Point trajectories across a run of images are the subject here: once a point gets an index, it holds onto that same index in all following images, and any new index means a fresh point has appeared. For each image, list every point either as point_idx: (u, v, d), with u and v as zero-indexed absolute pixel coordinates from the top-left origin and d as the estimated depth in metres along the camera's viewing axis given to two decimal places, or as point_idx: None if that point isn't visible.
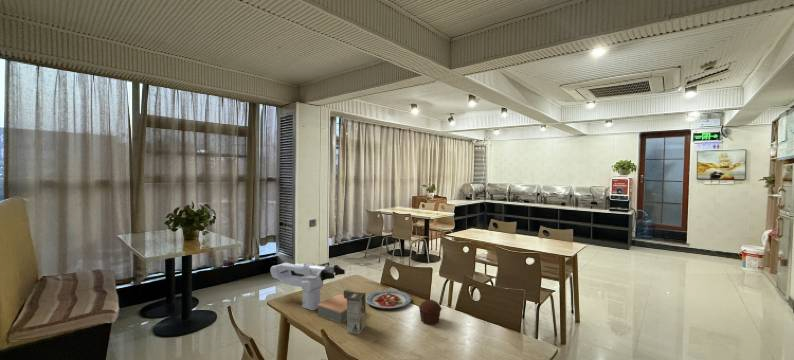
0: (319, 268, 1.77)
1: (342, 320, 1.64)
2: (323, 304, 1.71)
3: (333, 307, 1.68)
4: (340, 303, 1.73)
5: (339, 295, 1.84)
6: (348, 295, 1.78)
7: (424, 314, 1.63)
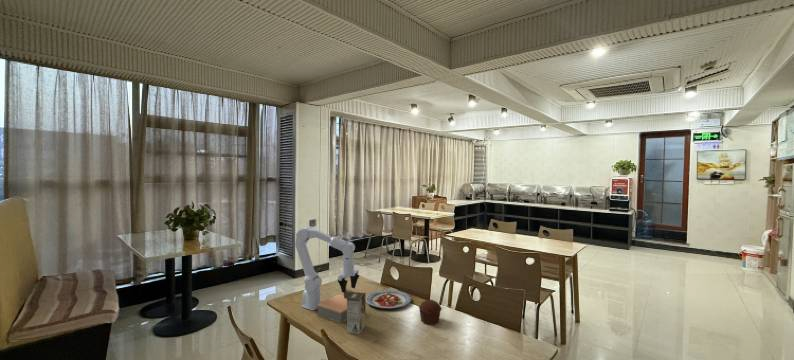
0: (349, 269, 1.76)
1: (342, 320, 1.64)
2: (323, 304, 1.71)
3: (333, 307, 1.68)
4: (340, 303, 1.73)
5: (339, 295, 1.84)
6: (348, 295, 1.78)
7: (424, 314, 1.63)
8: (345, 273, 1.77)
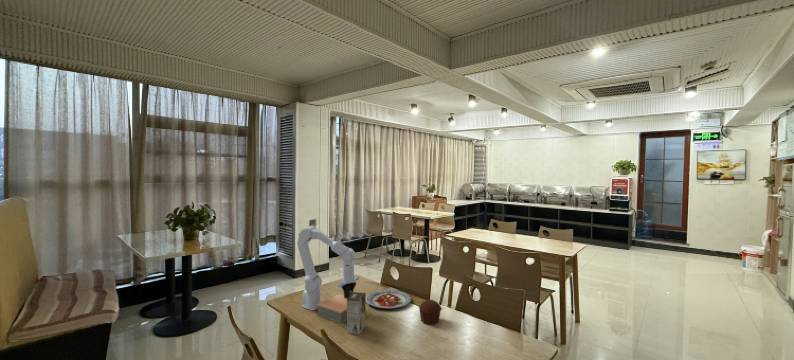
0: (349, 275, 1.77)
1: (342, 320, 1.64)
2: (323, 304, 1.71)
3: (333, 307, 1.68)
4: (340, 303, 1.73)
5: (339, 295, 1.84)
6: None
7: (424, 314, 1.63)
8: (345, 280, 1.77)
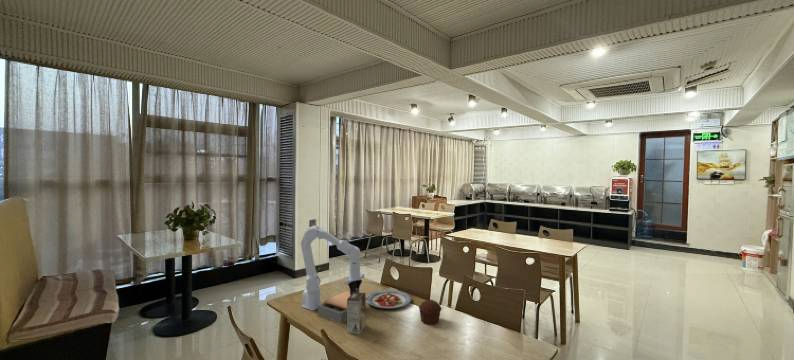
0: (355, 273, 1.81)
1: (342, 320, 1.64)
2: (330, 301, 1.75)
3: (340, 304, 1.72)
4: None
5: (345, 292, 1.88)
6: None
7: (424, 314, 1.63)
8: (351, 277, 1.81)
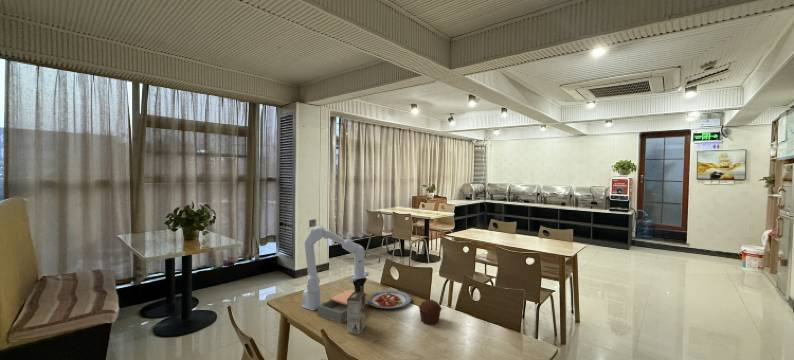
0: (360, 271, 1.84)
1: (342, 320, 1.64)
2: (336, 299, 1.79)
3: (345, 301, 1.75)
4: None
5: (350, 290, 1.91)
6: None
7: (424, 314, 1.63)
8: (356, 275, 1.84)
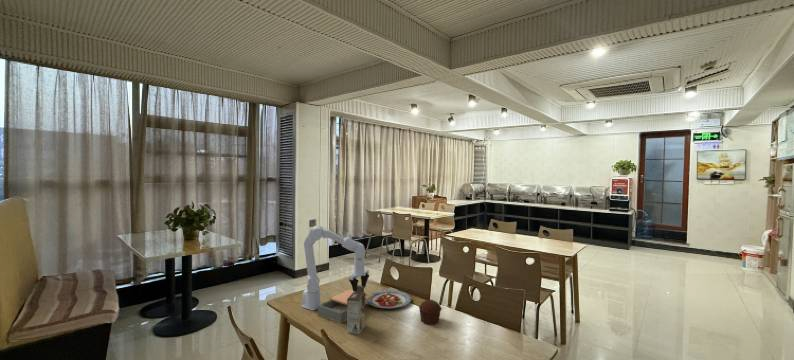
0: (360, 268, 1.84)
1: (342, 320, 1.64)
2: (336, 299, 1.79)
3: (345, 301, 1.75)
4: None
5: (350, 290, 1.91)
6: (359, 290, 1.86)
7: (424, 314, 1.63)
8: (356, 273, 1.84)
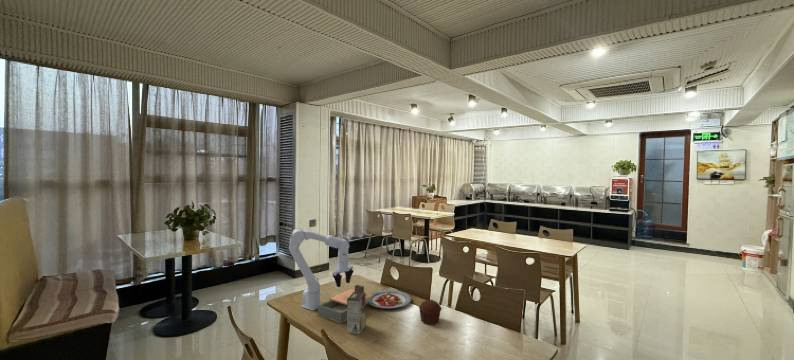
0: (343, 264, 1.85)
1: (342, 320, 1.64)
2: (336, 299, 1.79)
3: (345, 301, 1.75)
4: None
5: (350, 290, 1.91)
6: (359, 290, 1.86)
7: (424, 314, 1.63)
8: (340, 268, 1.85)
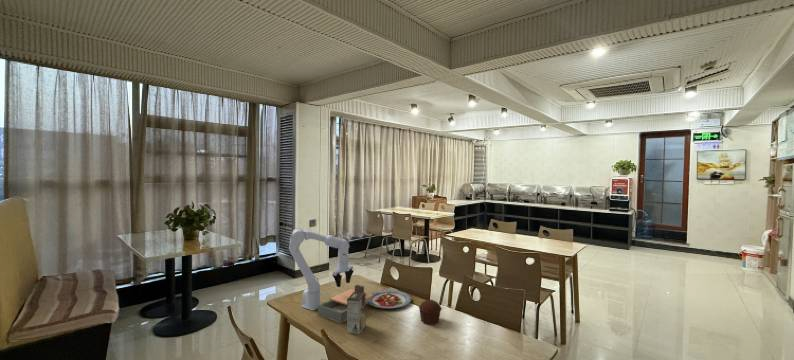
0: (343, 264, 1.85)
1: (342, 320, 1.64)
2: (336, 299, 1.79)
3: (345, 301, 1.75)
4: None
5: (350, 290, 1.91)
6: (359, 290, 1.86)
7: (424, 314, 1.63)
8: (340, 268, 1.85)
